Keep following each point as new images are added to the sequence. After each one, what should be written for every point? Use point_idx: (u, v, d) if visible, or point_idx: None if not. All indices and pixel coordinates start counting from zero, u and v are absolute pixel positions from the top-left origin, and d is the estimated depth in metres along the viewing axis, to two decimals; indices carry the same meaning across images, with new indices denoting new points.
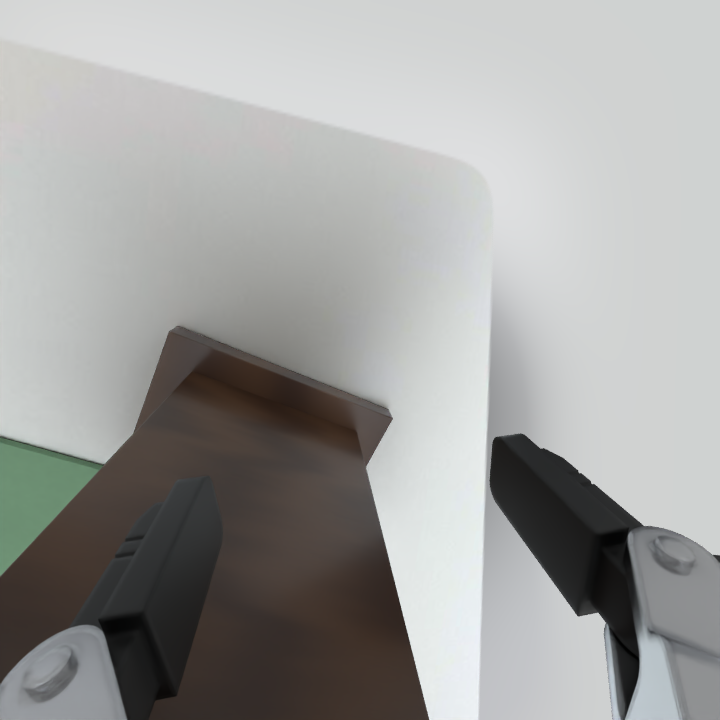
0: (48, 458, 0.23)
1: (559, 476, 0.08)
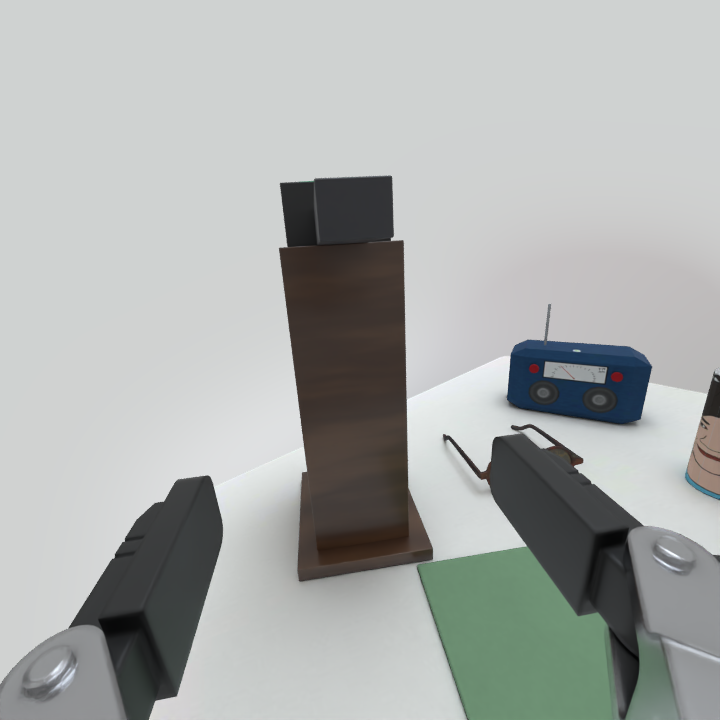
0: (432, 602, 0.31)
1: (559, 476, 0.08)
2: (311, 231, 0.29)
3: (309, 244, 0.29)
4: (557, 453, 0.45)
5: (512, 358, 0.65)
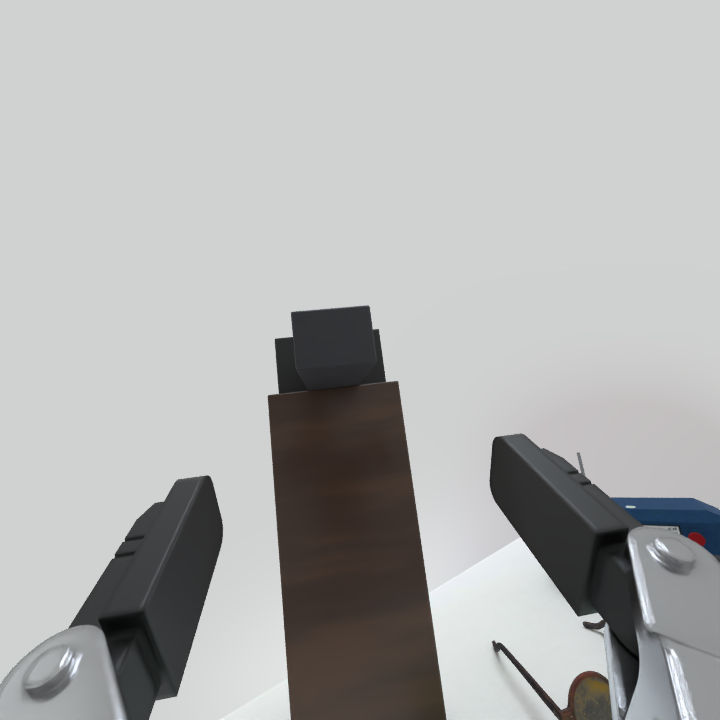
0: None
1: (559, 476, 0.08)
2: None
3: None
4: None
5: None
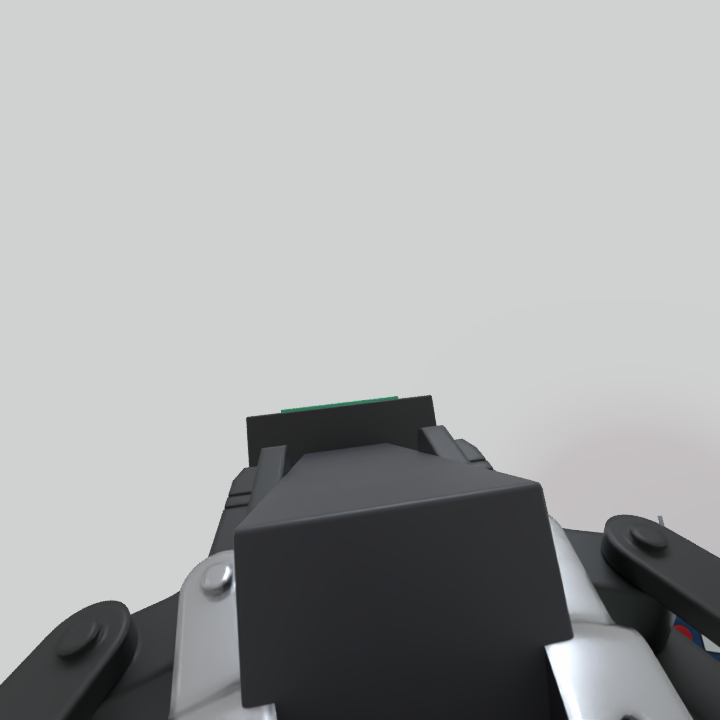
0: None
1: None
2: None
3: None
4: None
5: None
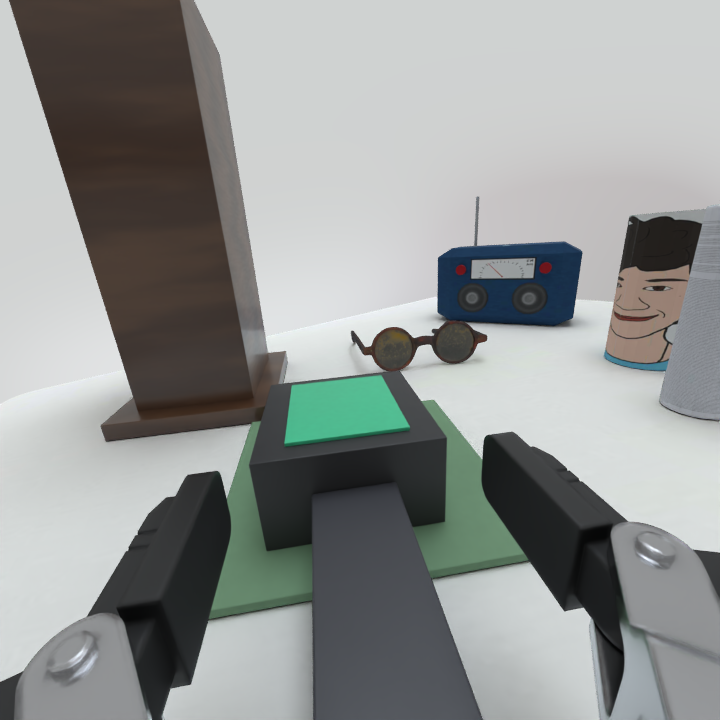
0: (246, 448, 0.25)
1: (547, 473, 0.08)
2: (308, 525, 0.16)
3: (304, 542, 0.16)
4: (457, 329, 0.39)
5: (439, 262, 0.58)
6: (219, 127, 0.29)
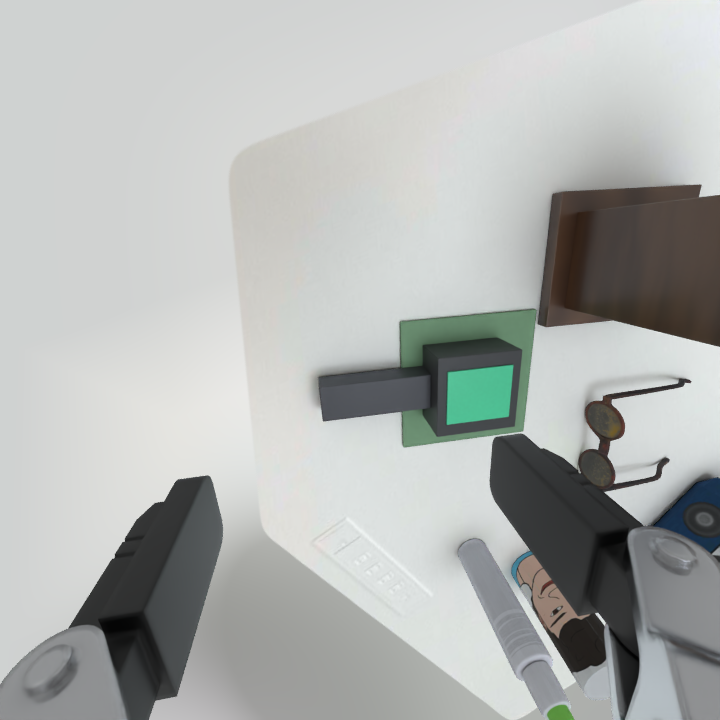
0: (503, 314, 0.39)
1: (559, 476, 0.08)
2: (425, 366, 0.38)
3: (423, 360, 0.39)
4: (605, 478, 0.44)
5: None
6: None
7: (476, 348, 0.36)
